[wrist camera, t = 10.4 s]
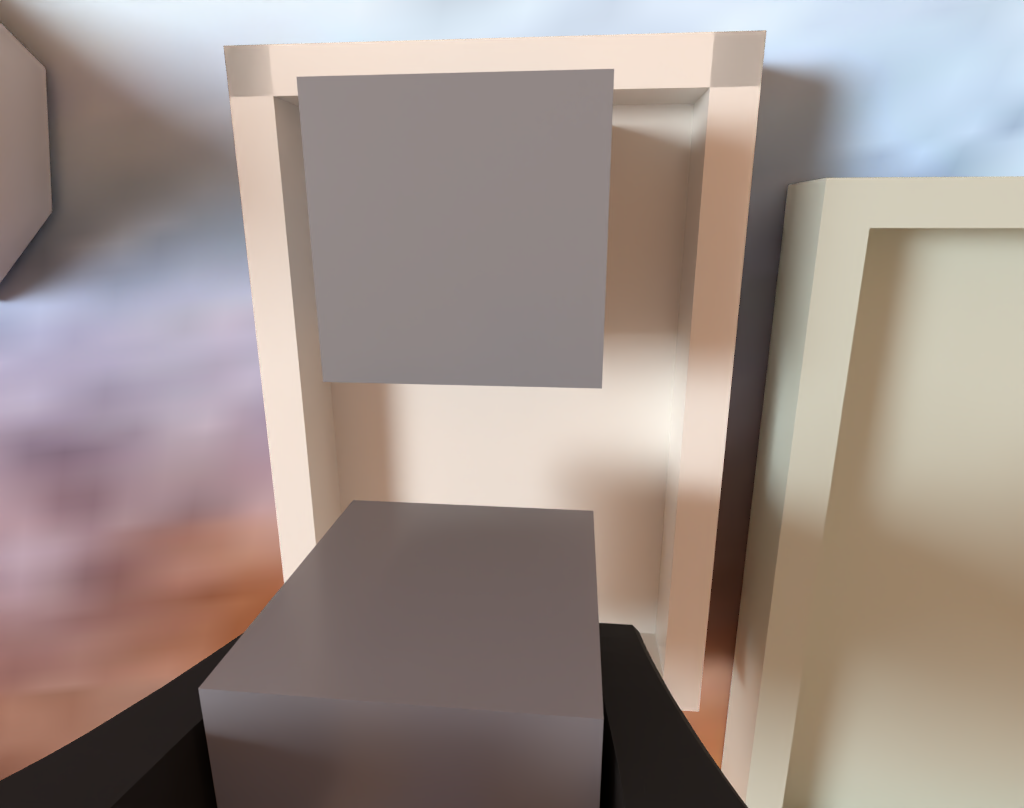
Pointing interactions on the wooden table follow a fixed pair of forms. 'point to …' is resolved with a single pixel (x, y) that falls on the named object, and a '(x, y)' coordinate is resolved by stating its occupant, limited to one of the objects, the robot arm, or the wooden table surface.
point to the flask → (22, 149)
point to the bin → (888, 505)
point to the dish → (534, 410)
